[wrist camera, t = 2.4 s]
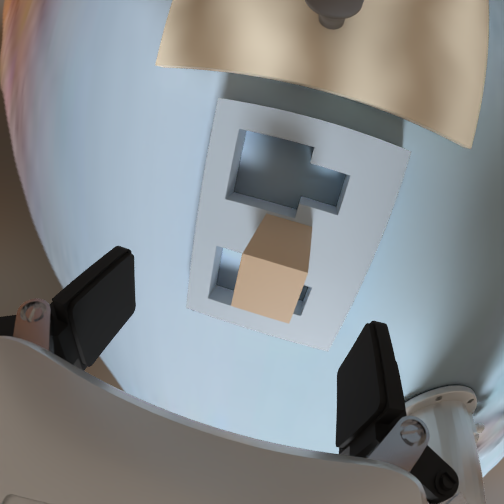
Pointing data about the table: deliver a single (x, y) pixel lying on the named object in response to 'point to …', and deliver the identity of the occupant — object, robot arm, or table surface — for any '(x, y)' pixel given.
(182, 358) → the table surface
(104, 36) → the table surface
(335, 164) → the panel
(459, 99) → the board
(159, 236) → the table surface
